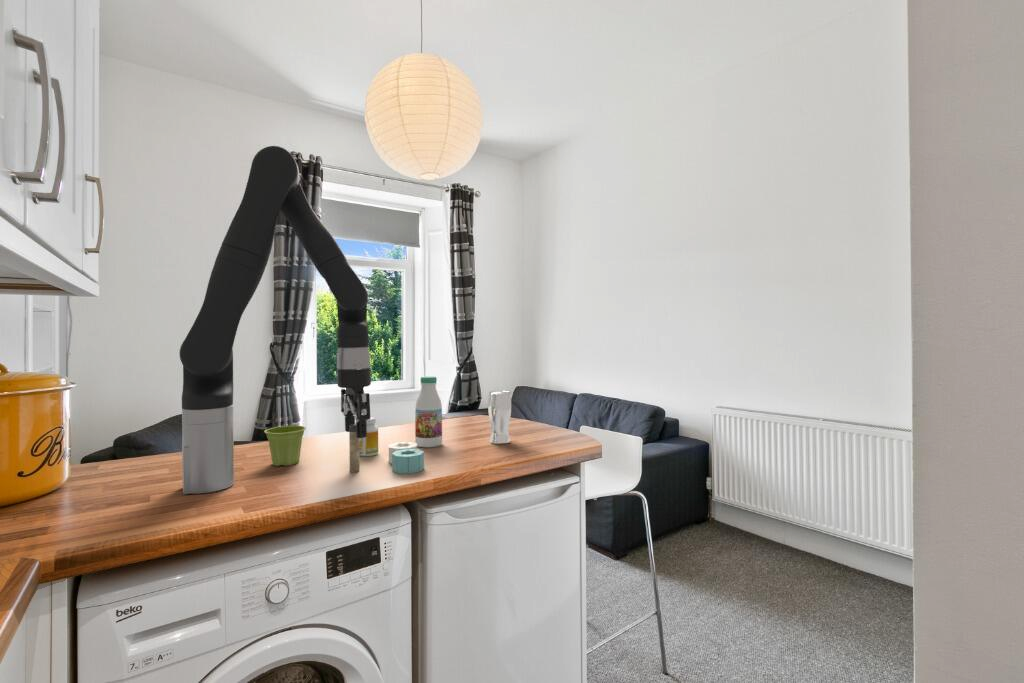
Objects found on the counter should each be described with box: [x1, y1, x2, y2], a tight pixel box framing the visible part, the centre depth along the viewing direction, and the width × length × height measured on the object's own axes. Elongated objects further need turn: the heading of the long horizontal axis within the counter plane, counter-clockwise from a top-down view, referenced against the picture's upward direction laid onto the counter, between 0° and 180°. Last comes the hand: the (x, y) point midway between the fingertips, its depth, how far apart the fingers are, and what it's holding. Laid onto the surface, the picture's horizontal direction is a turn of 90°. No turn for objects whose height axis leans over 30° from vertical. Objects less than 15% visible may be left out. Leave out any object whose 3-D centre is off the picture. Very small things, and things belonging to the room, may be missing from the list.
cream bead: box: [388, 441, 418, 465], centre depth 124 cm, size 7×7×4 cm
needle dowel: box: [348, 423, 360, 473], centre depth 114 cm, size 2×2×11 cm
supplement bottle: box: [359, 416, 379, 457], centre depth 130 cm, size 5×5×10 cm
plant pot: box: [263, 425, 306, 467], centre depth 121 cm, size 9×9×9 cm
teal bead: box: [391, 448, 425, 474], centre depth 116 cm, size 7×7×4 cm
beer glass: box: [487, 390, 512, 445], centre depth 144 cm, size 7×7×15 cm
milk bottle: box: [414, 375, 443, 448], centre depth 141 cm, size 8×8×20 cm
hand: (355, 434), depth 115 cm, fingers open, 8 cm apart
